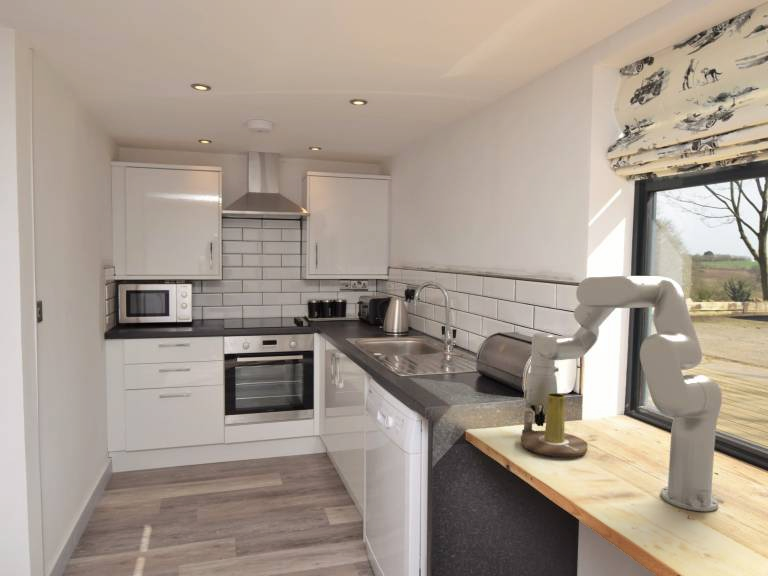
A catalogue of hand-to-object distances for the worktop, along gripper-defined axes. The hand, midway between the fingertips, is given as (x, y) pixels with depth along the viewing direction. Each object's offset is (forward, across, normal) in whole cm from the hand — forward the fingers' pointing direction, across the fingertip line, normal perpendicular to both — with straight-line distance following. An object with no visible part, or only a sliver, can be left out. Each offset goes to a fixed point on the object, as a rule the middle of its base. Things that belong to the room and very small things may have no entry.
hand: (539, 424), depth 185 cm
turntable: (+3, -1, +10) cm, 10 cm away
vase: (+2, -2, +11) cm, 11 cm away
